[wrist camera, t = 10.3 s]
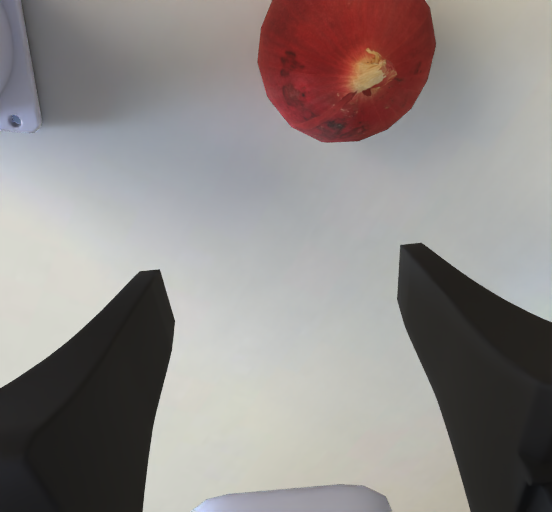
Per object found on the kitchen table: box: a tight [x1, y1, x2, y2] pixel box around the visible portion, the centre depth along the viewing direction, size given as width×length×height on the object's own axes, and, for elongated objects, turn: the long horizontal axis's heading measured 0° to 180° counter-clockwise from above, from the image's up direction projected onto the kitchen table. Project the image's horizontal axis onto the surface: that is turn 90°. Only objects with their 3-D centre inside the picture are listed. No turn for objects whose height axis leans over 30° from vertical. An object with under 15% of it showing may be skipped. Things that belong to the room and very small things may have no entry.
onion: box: [258, 0, 436, 142], centre depth 15 cm, size 6×6×8 cm
